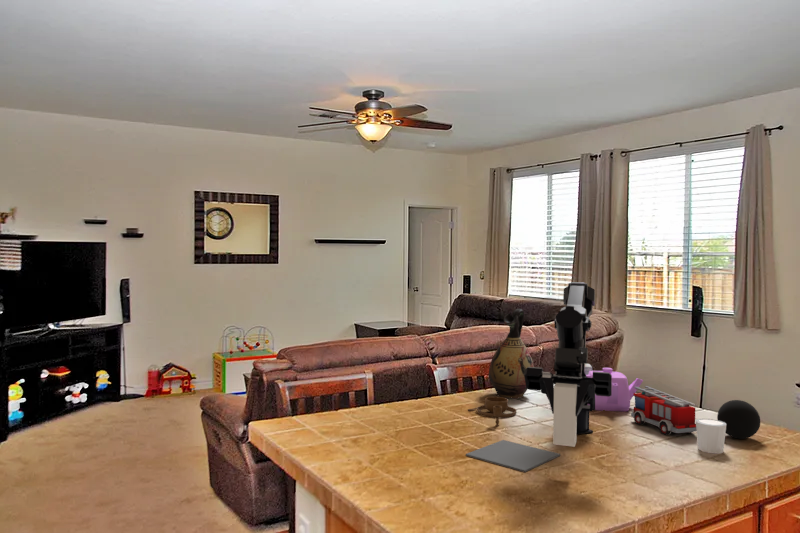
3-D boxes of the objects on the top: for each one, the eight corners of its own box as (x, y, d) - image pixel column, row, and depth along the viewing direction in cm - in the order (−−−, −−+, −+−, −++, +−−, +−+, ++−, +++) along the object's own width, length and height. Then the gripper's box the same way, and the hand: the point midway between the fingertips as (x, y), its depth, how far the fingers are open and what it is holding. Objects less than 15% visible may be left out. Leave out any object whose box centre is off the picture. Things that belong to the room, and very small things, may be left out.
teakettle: (599, 398, 206) (599, 362, 206) (645, 407, 193) (646, 369, 193) (568, 404, 196) (569, 366, 196) (615, 415, 182) (616, 375, 182)
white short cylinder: (723, 447, 151) (724, 419, 151) (728, 455, 145) (729, 426, 145) (693, 444, 153) (693, 417, 153) (697, 452, 147) (697, 423, 147)
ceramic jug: (524, 403, 197) (526, 311, 196) (481, 396, 205) (482, 309, 205) (542, 393, 211) (543, 308, 211) (500, 388, 219) (502, 306, 219)
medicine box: (592, 391, 217) (592, 367, 217) (579, 390, 218) (579, 366, 218) (590, 386, 225) (590, 363, 224) (577, 386, 225) (578, 363, 225)
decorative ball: (717, 430, 167) (718, 394, 167) (759, 436, 162) (760, 399, 162) (716, 439, 158) (716, 401, 158) (760, 445, 153) (761, 406, 153)
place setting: (532, 416, 182) (532, 396, 182) (501, 430, 167) (501, 408, 166) (481, 406, 193) (482, 388, 193) (447, 419, 177) (448, 399, 177)
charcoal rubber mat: (503, 441, 154) (503, 439, 154) (560, 455, 143) (560, 453, 143) (465, 455, 142) (465, 453, 142) (525, 472, 131) (525, 470, 131)
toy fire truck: (652, 419, 179) (653, 385, 179) (701, 437, 161) (702, 399, 161) (627, 421, 176) (628, 387, 176) (674, 439, 158) (675, 401, 158)
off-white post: (555, 438, 134) (556, 382, 134) (576, 440, 132) (577, 384, 132) (553, 444, 130) (554, 386, 130) (574, 446, 128) (575, 388, 128)
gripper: (526, 331, 138) (517, 389, 128) (612, 336, 131) (610, 397, 121) (530, 360, 145) (522, 417, 135) (612, 366, 139) (610, 426, 128)
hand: (564, 413), depth 130 cm, fingers closed on off-white post, 4 cm apart
